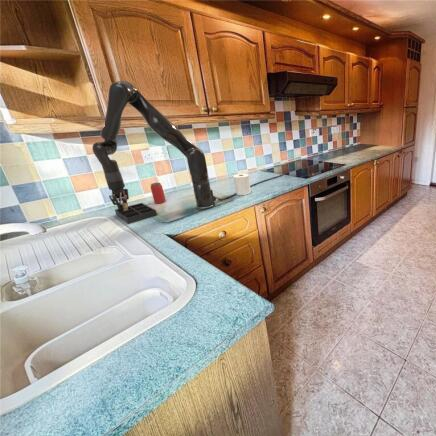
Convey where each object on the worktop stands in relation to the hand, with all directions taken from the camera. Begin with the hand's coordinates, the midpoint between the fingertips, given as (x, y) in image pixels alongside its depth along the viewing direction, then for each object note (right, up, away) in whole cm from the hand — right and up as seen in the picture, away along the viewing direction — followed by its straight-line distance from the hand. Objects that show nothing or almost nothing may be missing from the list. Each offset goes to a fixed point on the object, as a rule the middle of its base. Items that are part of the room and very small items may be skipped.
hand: (124, 209), depth 146 cm
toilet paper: (+62, +12, +28) cm, 69 cm away
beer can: (+11, +5, +19) cm, 22 cm away
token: (0, 0, 0) cm, 0 cm away
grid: (+8, -3, -1) cm, 8 cm away
